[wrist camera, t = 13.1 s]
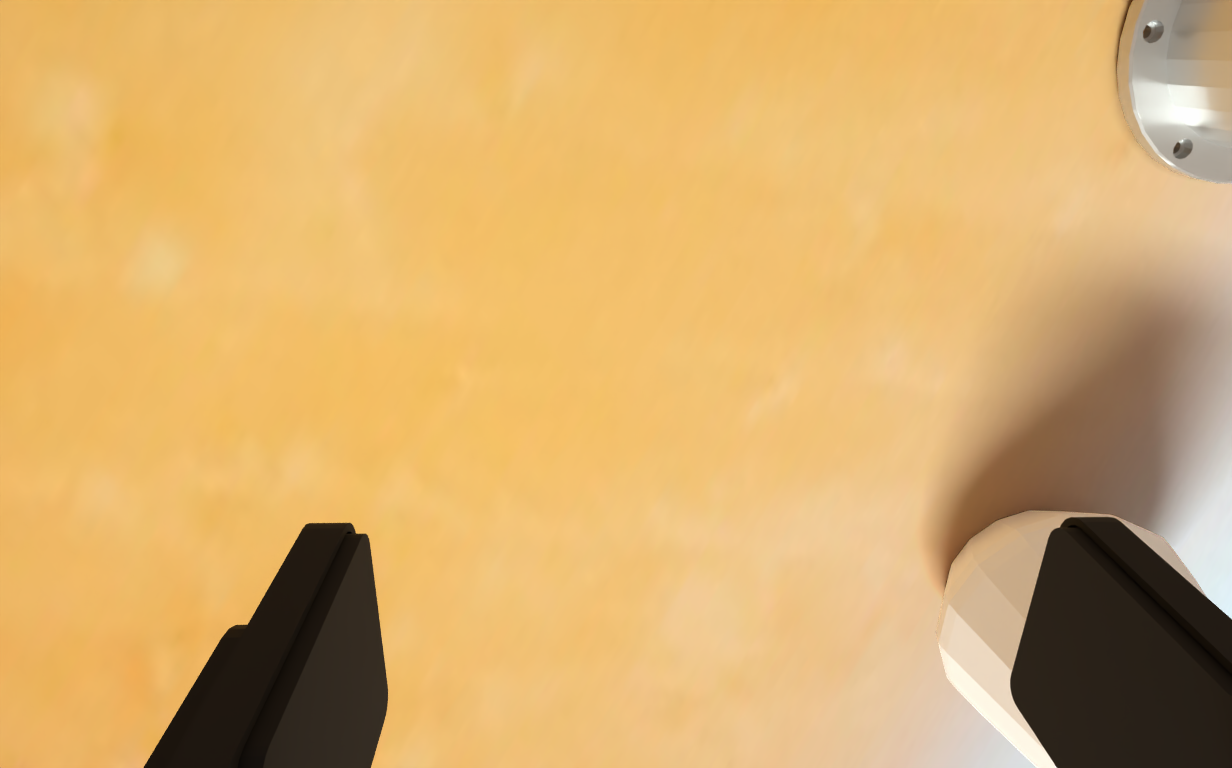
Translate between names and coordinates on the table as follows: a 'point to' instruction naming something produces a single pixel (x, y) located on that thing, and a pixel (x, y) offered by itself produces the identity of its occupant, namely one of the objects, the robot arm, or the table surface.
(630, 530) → the table surface
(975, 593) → the cup
